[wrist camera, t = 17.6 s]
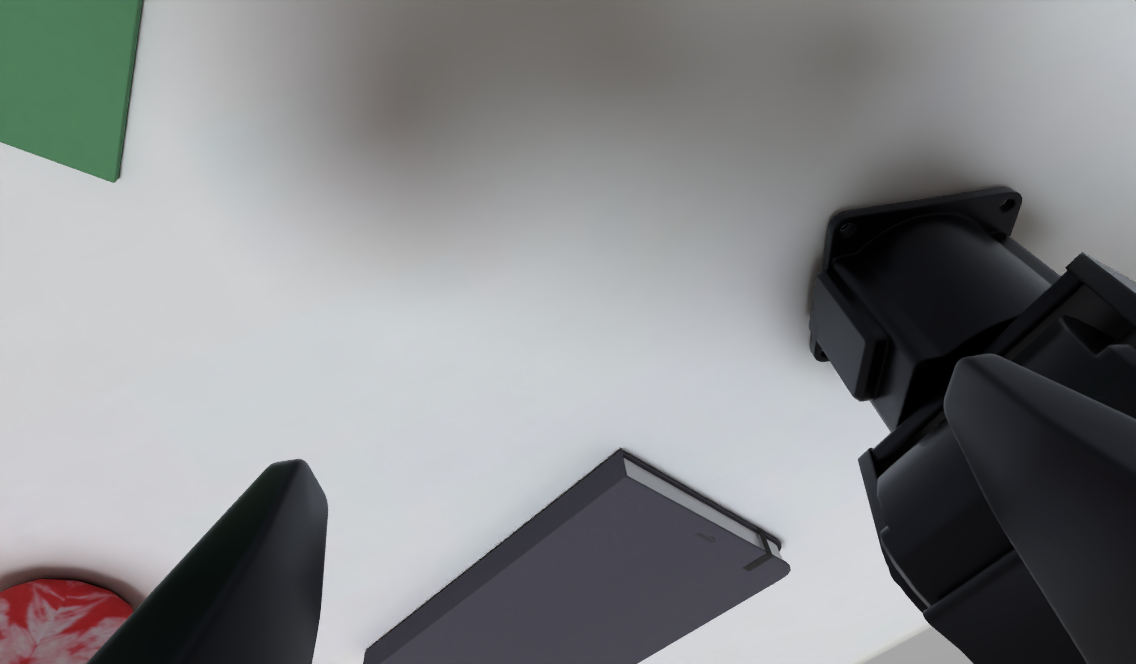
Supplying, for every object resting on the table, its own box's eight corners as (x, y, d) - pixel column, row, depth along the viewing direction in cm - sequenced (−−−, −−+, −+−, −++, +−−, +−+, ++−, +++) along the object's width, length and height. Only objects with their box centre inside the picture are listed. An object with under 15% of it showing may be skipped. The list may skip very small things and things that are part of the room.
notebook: (620, 448, 28) (364, 651, 37) (626, 476, 27) (360, 679, 36) (787, 543, 34) (532, 699, 43) (798, 570, 33) (533, 725, 42)
